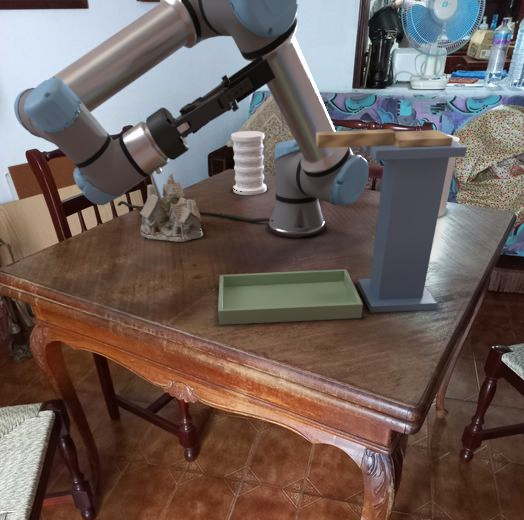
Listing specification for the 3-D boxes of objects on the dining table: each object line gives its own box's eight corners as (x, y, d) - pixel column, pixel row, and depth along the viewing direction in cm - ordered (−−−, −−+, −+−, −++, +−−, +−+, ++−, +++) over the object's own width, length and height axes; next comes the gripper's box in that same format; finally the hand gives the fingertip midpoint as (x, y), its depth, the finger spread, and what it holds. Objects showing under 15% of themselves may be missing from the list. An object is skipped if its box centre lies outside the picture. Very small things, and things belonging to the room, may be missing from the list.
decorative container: (270, 193, 160) (269, 135, 150) (237, 196, 158) (234, 138, 147) (261, 184, 169) (260, 129, 159) (230, 187, 167) (226, 132, 157)
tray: (219, 325, 90) (217, 311, 89) (220, 287, 103) (219, 274, 102) (361, 318, 91) (362, 304, 90) (345, 281, 104) (346, 269, 102)
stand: (360, 313, 93) (377, 152, 76) (348, 285, 103) (361, 137, 86) (435, 309, 93) (469, 148, 76) (416, 282, 103) (442, 134, 86)
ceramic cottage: (137, 228, 135) (130, 174, 126) (192, 221, 140) (189, 169, 131) (149, 250, 123) (142, 193, 114) (208, 242, 129) (206, 187, 120)
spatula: (319, 150, 77) (320, 137, 76) (313, 142, 83) (314, 129, 82) (451, 145, 78) (454, 132, 77) (436, 137, 84) (438, 125, 83)
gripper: (178, 146, 91) (273, 82, 86) (162, 179, 70) (287, 97, 65) (154, 109, 87) (252, 40, 82) (130, 132, 66) (259, 41, 61)
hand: (268, 65), depth 74 cm, fingers open, 13 cm apart
